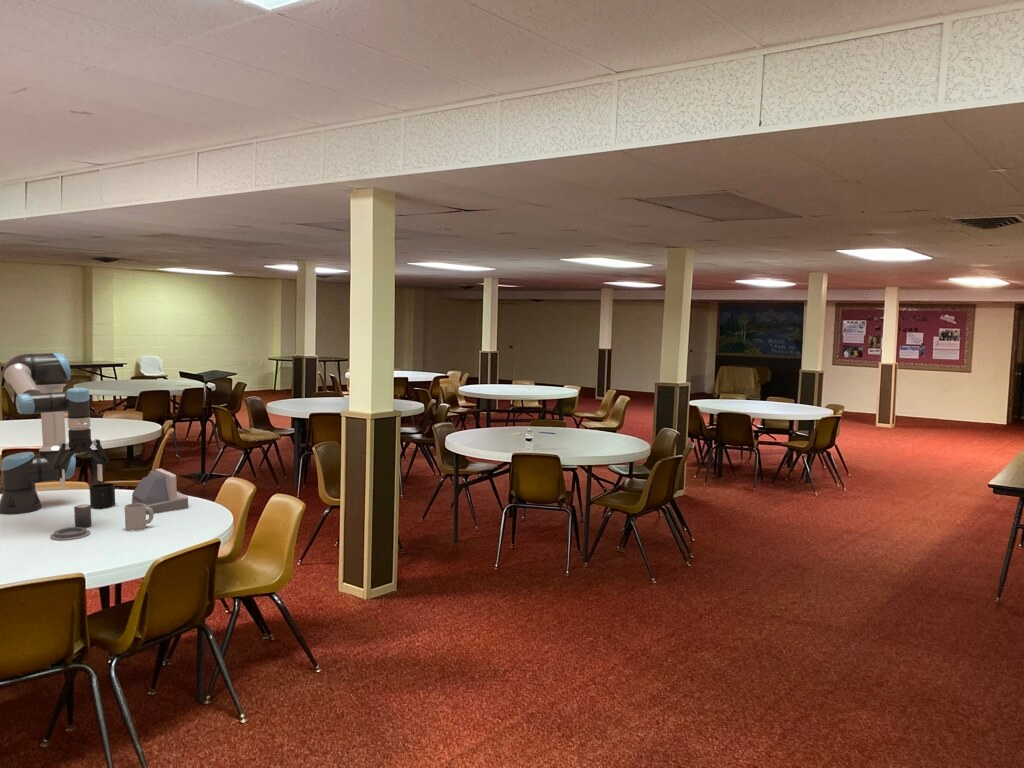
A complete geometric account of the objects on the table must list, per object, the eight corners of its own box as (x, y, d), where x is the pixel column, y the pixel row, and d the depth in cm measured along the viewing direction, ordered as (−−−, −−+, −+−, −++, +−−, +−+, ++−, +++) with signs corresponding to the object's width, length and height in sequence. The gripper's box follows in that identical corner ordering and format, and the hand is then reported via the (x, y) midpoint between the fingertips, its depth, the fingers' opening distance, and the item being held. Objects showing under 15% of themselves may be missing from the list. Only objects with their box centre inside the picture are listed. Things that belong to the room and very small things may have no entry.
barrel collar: (44, 535, 297) (44, 531, 297) (81, 528, 307) (81, 524, 307) (58, 542, 289) (58, 537, 289) (96, 535, 299) (96, 530, 298)
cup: (124, 527, 310) (124, 504, 309) (153, 523, 315) (152, 501, 314) (126, 531, 304) (125, 508, 303) (154, 528, 309) (154, 505, 308)
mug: (90, 511, 333) (89, 490, 332) (90, 505, 344) (89, 484, 343) (115, 509, 337) (114, 487, 336) (115, 502, 348) (114, 482, 347)
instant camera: (190, 509, 338) (189, 474, 337) (137, 516, 327) (135, 480, 325) (180, 499, 356) (179, 466, 354) (128, 505, 344) (127, 470, 343)
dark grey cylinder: (72, 526, 310) (71, 505, 309) (87, 524, 314) (87, 503, 313) (78, 529, 306) (77, 508, 305) (93, 526, 310) (93, 505, 309)
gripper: (47, 433, 294) (50, 490, 296) (117, 426, 313) (119, 479, 315) (39, 431, 299) (42, 487, 301) (108, 424, 318) (111, 477, 320)
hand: (81, 483), depth 308 cm, fingers open, 13 cm apart
